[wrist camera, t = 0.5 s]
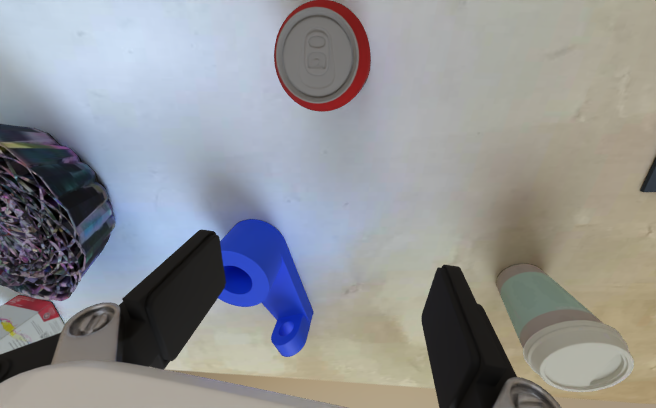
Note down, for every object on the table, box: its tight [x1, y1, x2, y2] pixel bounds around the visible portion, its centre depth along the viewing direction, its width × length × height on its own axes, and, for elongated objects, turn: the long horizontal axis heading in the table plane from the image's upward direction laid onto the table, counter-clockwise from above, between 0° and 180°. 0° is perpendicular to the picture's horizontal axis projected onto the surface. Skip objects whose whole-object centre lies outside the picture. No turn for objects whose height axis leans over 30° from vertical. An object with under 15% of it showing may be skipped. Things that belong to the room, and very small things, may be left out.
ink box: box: [0, 295, 64, 354], centre depth 51 cm, size 9×9×12 cm
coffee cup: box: [496, 264, 634, 392], centre depth 30 cm, size 8×8×12 cm
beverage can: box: [274, 0, 371, 111], centre depth 22 cm, size 7×7×12 cm
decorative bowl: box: [0, 124, 115, 301], centre depth 37 cm, size 26×28×10 cm
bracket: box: [218, 219, 313, 357], centre depth 37 cm, size 20×9×8 cm, turn 24°
